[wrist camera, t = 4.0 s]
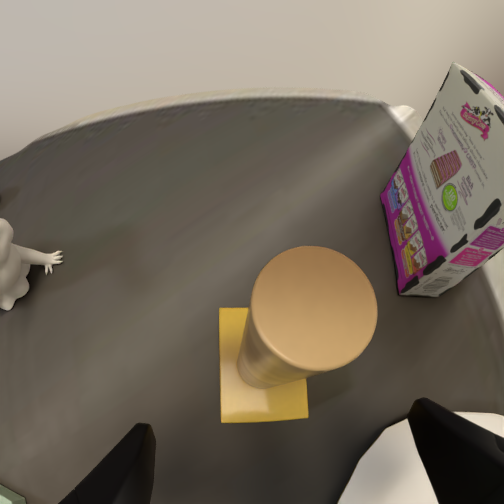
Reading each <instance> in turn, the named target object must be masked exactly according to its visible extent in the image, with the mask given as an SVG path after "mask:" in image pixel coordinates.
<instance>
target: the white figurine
mask: <svg viewBox="0 0 504 504" xmlns="http://www.w3.org/2000/svg"><path fill="white" fill-rule="evenodd" d="M12 238H13V229H12V227H11V226H10V224H9V223H8V222H7V221H6V220H5V219H1V218H0V308H2V309H4V310H10V309H11V308H12V307H13V305H14V302H15V300H16V299H17V298H20V297H22V296H24V295H25V294H26V293H27V291H28V289H29V283H28V281H27V279H26V276H27V274H28V273H29V270H30V264H35V265H45V273H46V275H47V273H48V268H49V269H50V272H51V274H52V271H53V270H52V265H53V264H60V263H61V262H63V261H59V260H58V259H61V257H63V256H60V255H59V254H60V253H61V252H62V251H57V252H55V253H52V254H45V253H42V252H39V251H36V250H33V249H29V248H24V247H21V246H18V245H14V244H12V243H11V241H12ZM57 255H59V256H57ZM56 260H58V261H56Z"/></svg>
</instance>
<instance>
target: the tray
mask: <svg viewBox="0 0 504 504" xmlns="http://www.w3.org/2000/svg"><path fill="white" fill-rule="evenodd" d="M0 504H26V500H25V498H24V497H22V496H20V495H18V494H16V493H15V492H13V491H11V490H9V489H7V488H6V487H4V486H2V485H1V484H0Z"/></svg>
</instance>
